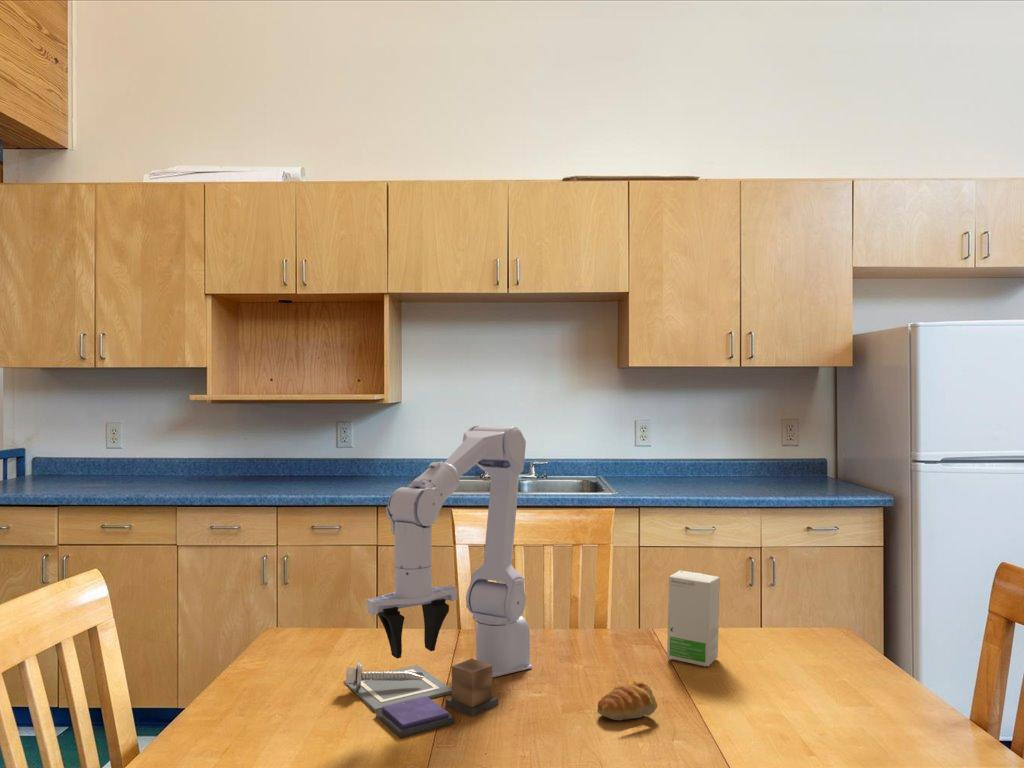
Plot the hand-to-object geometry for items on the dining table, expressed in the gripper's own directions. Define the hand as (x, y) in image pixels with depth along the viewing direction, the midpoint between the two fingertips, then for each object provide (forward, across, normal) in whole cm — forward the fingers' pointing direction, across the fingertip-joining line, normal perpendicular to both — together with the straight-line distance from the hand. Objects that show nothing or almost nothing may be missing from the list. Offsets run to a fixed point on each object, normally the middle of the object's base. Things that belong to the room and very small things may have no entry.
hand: (413, 652), depth 119 cm
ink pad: (+10, 0, +1) cm, 10 cm away
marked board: (+10, -3, -12) cm, 16 cm away
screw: (+10, 0, -12) cm, 15 cm away
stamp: (+10, -10, +1) cm, 14 cm away
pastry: (+11, -26, +15) cm, 32 cm away
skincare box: (+10, -56, +6) cm, 57 cm away
